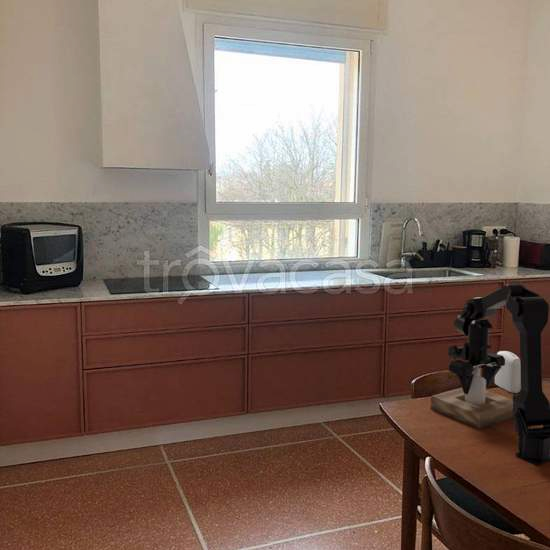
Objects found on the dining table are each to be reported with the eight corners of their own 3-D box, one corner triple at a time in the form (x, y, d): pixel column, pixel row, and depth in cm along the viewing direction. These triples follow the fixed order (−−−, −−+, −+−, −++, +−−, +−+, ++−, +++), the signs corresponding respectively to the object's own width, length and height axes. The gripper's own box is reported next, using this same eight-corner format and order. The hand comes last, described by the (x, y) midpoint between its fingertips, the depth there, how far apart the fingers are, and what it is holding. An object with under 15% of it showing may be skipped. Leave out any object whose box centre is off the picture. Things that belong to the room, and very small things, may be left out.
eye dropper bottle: (473, 399, 181) (475, 360, 180) (487, 405, 176) (489, 365, 175) (462, 401, 180) (464, 362, 178) (476, 407, 175) (477, 367, 173)
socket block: (519, 415, 176) (520, 402, 175) (479, 428, 166) (480, 415, 166) (470, 397, 191) (470, 385, 190) (430, 408, 181) (431, 395, 181)
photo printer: (492, 383, 203) (494, 348, 202) (503, 382, 204) (505, 347, 202) (510, 394, 194) (512, 357, 192) (522, 393, 194) (524, 356, 193)
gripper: (476, 330, 187) (474, 378, 189) (434, 339, 177) (433, 389, 179) (507, 338, 178) (504, 388, 180) (465, 347, 168) (462, 400, 170)
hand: (475, 391), depth 177 cm, fingers closed on eye dropper bottle, 8 cm apart
